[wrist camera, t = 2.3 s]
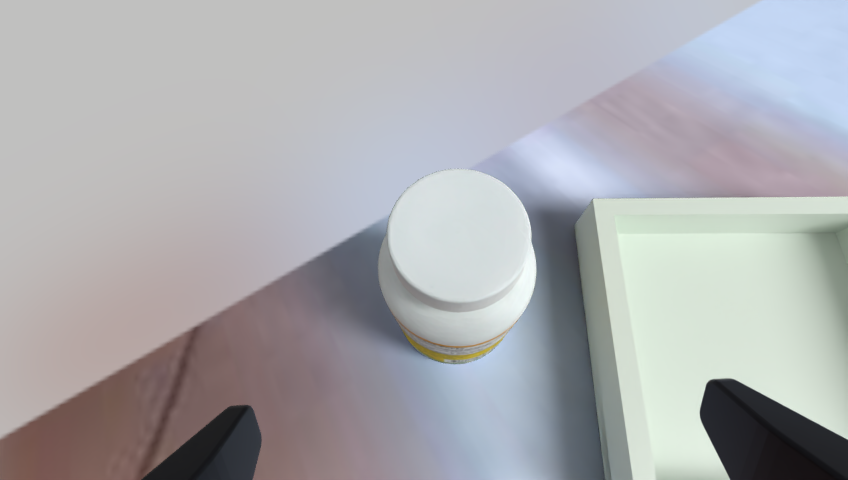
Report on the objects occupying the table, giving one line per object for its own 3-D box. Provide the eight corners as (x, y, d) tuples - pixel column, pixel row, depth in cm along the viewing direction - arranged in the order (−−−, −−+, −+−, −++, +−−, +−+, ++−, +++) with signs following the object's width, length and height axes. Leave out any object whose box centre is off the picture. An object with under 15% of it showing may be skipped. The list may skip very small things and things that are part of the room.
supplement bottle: (475, 388, 19) (498, 374, 10) (377, 327, 20) (320, 266, 11) (528, 288, 20) (590, 198, 12) (434, 237, 22) (424, 120, 13)
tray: (942, 523, 16) (1046, 548, 13) (609, 511, 17) (640, 533, 14) (833, 224, 21) (892, 196, 18) (574, 225, 21) (592, 198, 19)
